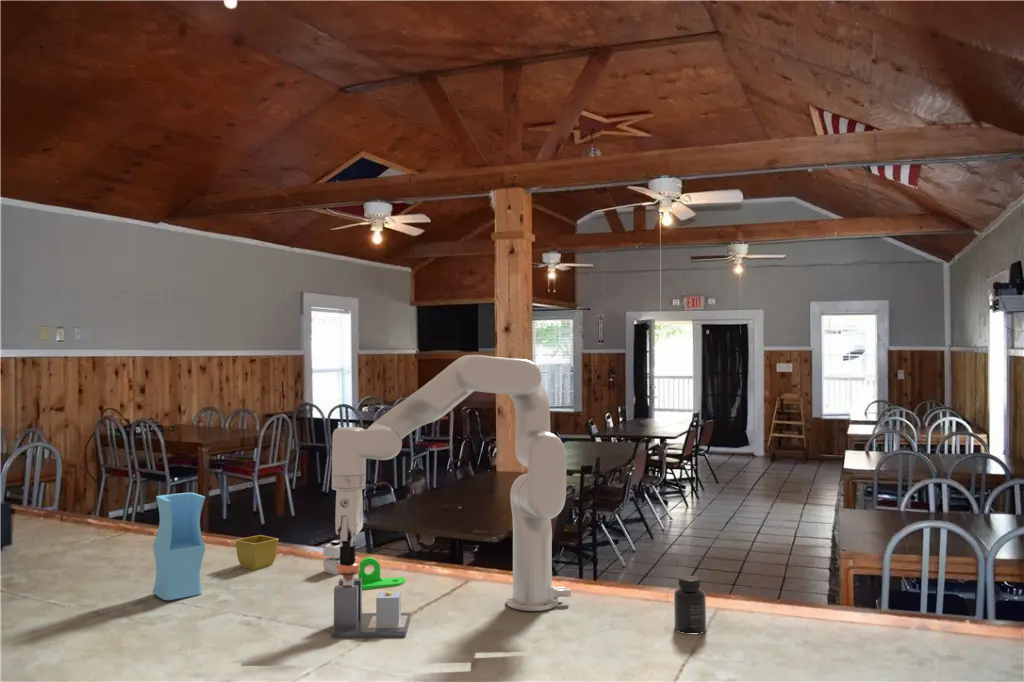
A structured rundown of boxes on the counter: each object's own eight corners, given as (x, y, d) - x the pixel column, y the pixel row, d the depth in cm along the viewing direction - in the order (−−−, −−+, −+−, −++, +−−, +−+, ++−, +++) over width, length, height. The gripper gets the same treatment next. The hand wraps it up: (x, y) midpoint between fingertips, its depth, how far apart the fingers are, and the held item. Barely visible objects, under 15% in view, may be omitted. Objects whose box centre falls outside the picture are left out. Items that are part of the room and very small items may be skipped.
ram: (360, 613, 180) (361, 560, 181) (357, 620, 175) (357, 566, 176) (338, 613, 180) (339, 561, 180) (334, 621, 175) (335, 566, 175)
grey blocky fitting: (351, 575, 221) (352, 540, 222) (334, 581, 216) (335, 544, 216) (336, 572, 224) (337, 537, 225) (319, 578, 219) (319, 541, 219)
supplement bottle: (707, 629, 177) (707, 575, 177) (704, 639, 170) (704, 583, 171) (676, 626, 179) (676, 572, 179) (672, 635, 173) (672, 580, 173)
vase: (164, 601, 198) (166, 500, 198) (152, 592, 205) (153, 496, 206) (204, 593, 204) (205, 496, 205) (191, 585, 211) (192, 492, 212)
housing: (400, 617, 181) (401, 589, 181) (398, 624, 176) (398, 595, 176) (378, 618, 180) (379, 589, 181) (376, 625, 175) (376, 595, 176)
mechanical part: (360, 594, 204) (360, 563, 205) (358, 587, 210) (358, 557, 210) (406, 590, 208) (406, 560, 208) (403, 584, 214) (403, 554, 214)
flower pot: (260, 565, 233) (260, 534, 233) (279, 569, 228) (279, 538, 228) (234, 571, 226) (234, 539, 226) (253, 576, 221) (253, 543, 221)
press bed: (410, 617, 185) (410, 574, 185) (405, 636, 172) (405, 590, 172) (341, 618, 184) (342, 575, 184) (331, 638, 171) (331, 591, 171)
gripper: (360, 487, 171) (359, 572, 171) (370, 477, 186) (368, 555, 186) (325, 487, 171) (324, 572, 170) (337, 477, 186) (336, 555, 185)
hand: (347, 563), depth 178 cm, fingers closed, pressing on ram
